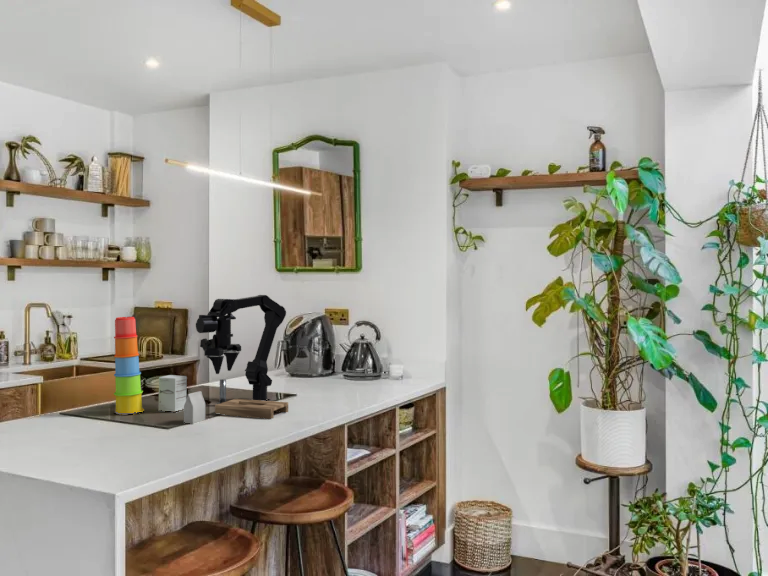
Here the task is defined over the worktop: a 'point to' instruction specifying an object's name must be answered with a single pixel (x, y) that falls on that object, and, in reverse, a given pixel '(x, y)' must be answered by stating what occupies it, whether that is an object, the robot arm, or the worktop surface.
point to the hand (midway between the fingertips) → (223, 372)
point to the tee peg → (222, 391)
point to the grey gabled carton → (194, 408)
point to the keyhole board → (251, 408)
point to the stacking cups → (127, 367)
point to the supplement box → (172, 392)
